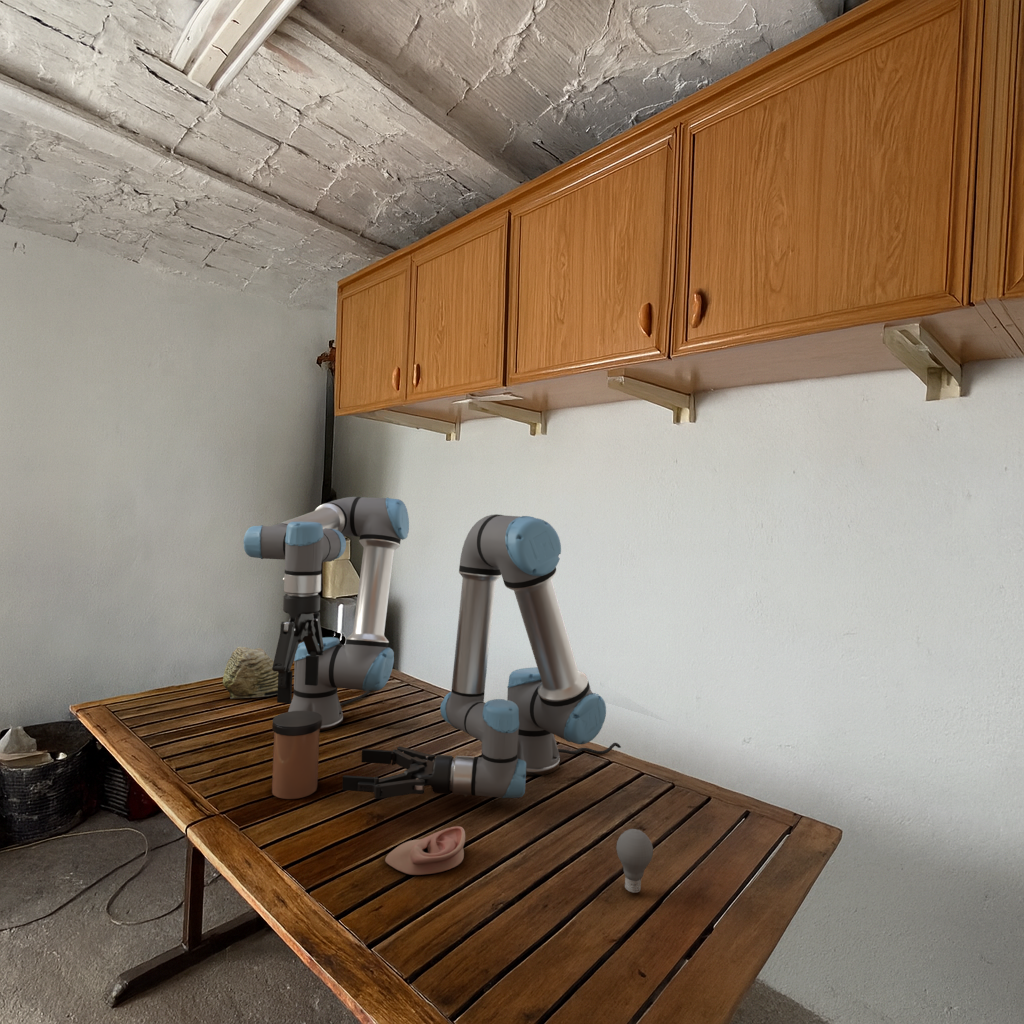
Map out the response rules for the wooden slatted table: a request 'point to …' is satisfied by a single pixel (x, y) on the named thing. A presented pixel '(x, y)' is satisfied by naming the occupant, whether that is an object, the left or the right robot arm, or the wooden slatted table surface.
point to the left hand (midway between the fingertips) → (298, 693)
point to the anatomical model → (429, 853)
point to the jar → (295, 765)
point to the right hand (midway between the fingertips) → (352, 768)
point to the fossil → (250, 674)
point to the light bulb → (634, 857)
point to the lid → (297, 723)
